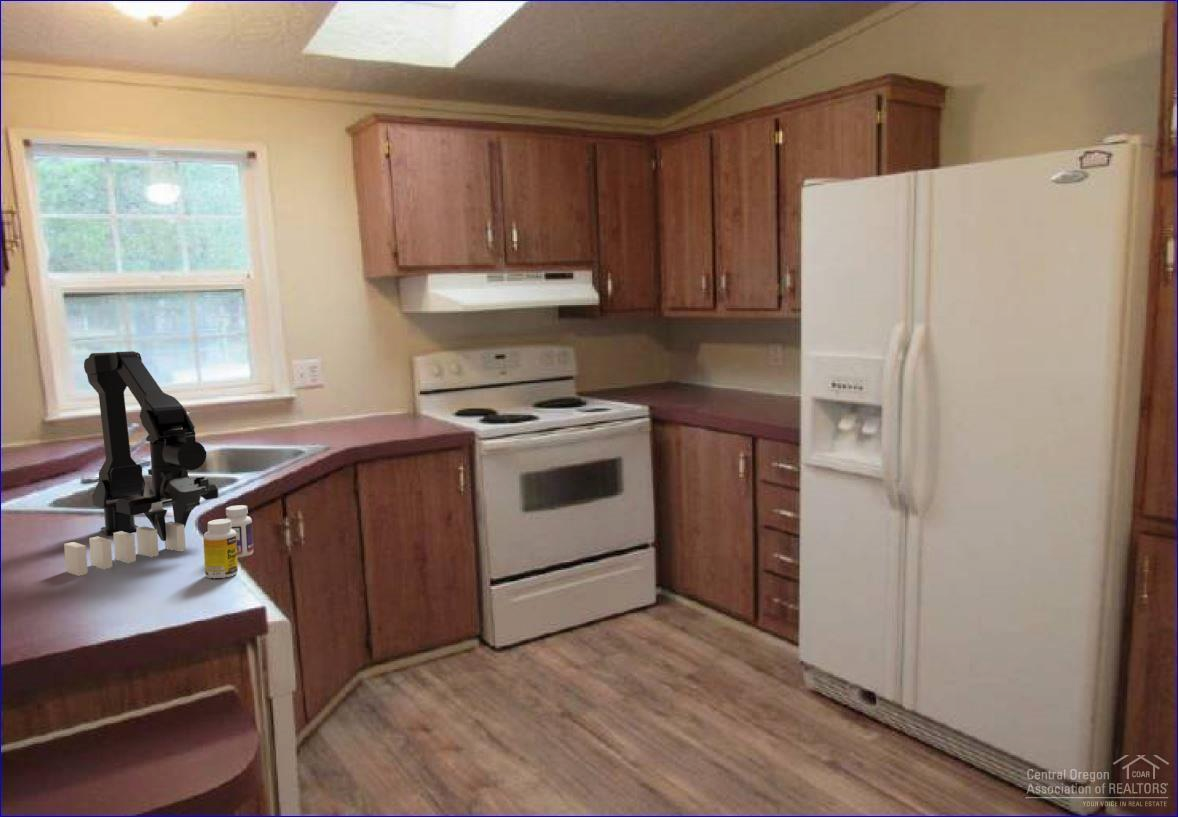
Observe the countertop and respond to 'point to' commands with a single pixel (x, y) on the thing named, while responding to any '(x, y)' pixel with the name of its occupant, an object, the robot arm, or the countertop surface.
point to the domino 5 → (175, 536)
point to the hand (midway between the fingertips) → (171, 538)
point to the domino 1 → (75, 558)
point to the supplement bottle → (220, 549)
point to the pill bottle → (241, 529)
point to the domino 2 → (100, 552)
